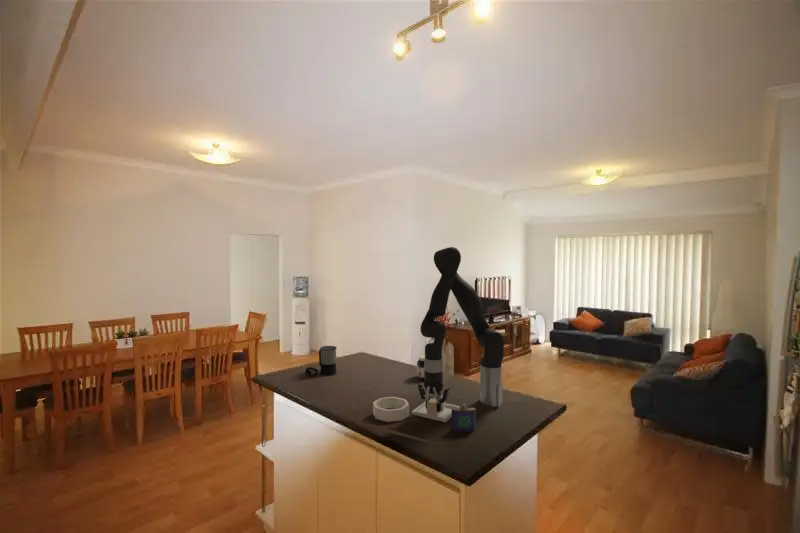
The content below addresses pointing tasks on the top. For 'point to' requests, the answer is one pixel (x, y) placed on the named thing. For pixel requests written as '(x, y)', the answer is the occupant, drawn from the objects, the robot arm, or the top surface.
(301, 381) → the top surface
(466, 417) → the flask
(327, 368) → the milk frother
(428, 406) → the cream wooden brick
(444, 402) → the pebble grey
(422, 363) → the spread jar
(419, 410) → the tray
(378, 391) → the top surface
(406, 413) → the bowl
